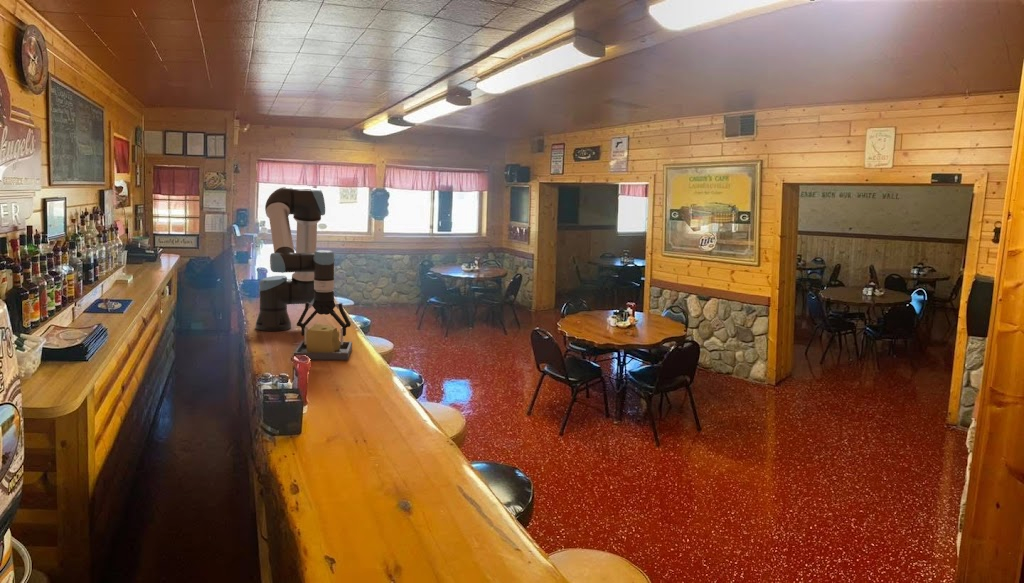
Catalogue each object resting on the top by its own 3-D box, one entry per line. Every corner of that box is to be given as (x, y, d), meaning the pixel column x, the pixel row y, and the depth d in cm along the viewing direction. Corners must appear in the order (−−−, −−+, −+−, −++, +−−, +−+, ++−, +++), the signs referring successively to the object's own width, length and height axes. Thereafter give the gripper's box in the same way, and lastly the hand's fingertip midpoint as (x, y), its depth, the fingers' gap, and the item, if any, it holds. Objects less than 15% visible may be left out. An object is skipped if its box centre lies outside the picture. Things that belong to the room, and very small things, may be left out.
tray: (301, 348, 261) (301, 341, 261) (352, 348, 264) (352, 341, 264) (293, 360, 244) (293, 352, 243) (347, 360, 247) (347, 353, 246)
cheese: (340, 349, 259) (340, 325, 257) (331, 356, 248) (332, 331, 247) (314, 348, 259) (314, 323, 258) (305, 355, 249) (305, 329, 247)
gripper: (288, 291, 244) (289, 345, 248) (356, 292, 248) (355, 346, 251) (292, 288, 251) (292, 341, 255) (357, 289, 255) (357, 341, 259)
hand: (324, 343), depth 253 cm, fingers open, 13 cm apart
